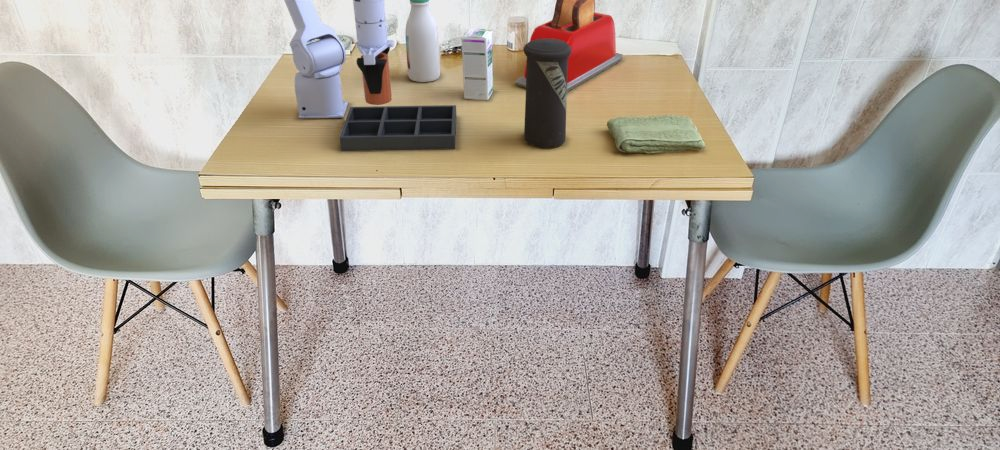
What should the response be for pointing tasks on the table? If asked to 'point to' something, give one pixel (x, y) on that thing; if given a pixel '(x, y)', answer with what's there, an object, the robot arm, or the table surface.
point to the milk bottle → (422, 43)
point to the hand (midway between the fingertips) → (377, 87)
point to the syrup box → (477, 64)
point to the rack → (399, 128)
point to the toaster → (580, 40)
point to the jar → (386, 86)
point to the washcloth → (655, 134)
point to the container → (546, 92)
